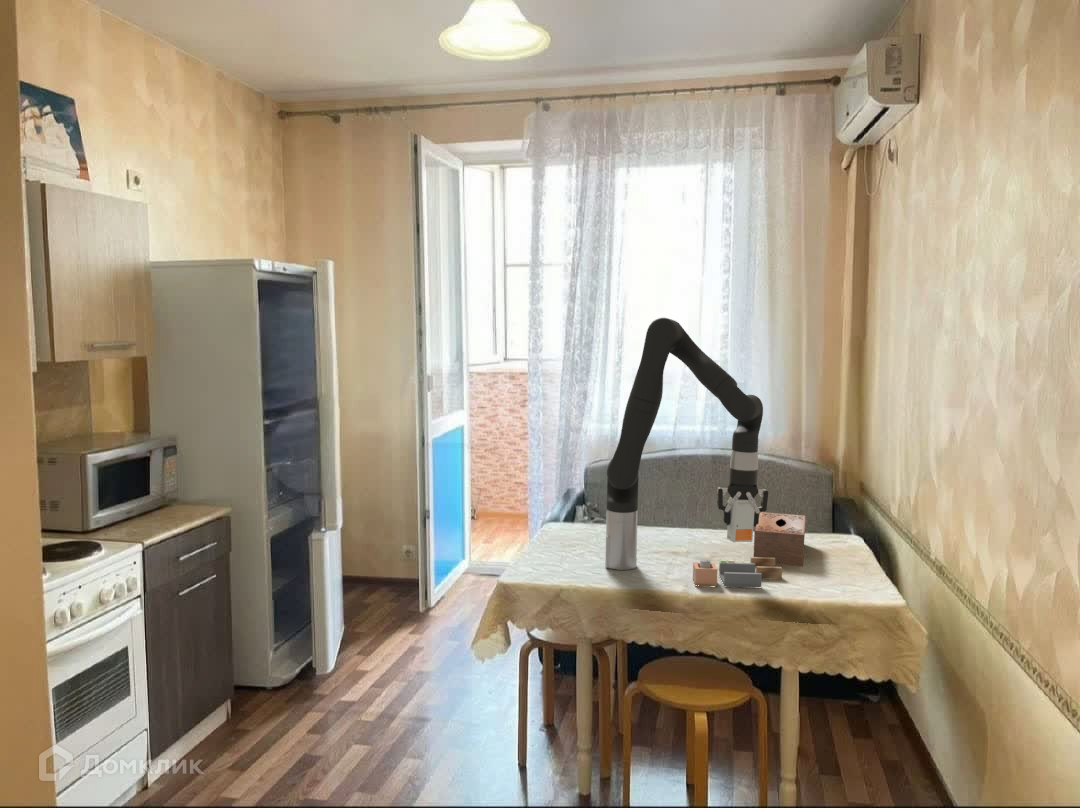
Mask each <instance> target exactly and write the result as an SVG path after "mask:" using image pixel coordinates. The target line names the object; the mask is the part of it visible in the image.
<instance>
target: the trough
mask: <svg viewBox="0 0 1080 808" xmlns="http://www.w3.org/2000/svg"><path fill="white" fill-rule="evenodd" d="M749 563H755V573H761V574H762V579H763V578H772V579H771V580H782V579H783V568H782V566H776V564H775V558H770V557H754V556H751V557H750V562H749Z"/></svg>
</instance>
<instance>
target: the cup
mask: <svg viewBox="0 0 1080 808" xmlns="http://www.w3.org/2000/svg"><path fill="white" fill-rule="evenodd" d="M718 572H719V569H718V567H717V565H716V563H715V562H711V560H709V559H703V558H702V559H700V560H699V562H697V561H696V562H692V581H694V582H693V584H695V585H697V586H696V587H702V586H717V587H718ZM695 585H694V586H695ZM698 585H699V586H698Z"/></svg>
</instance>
